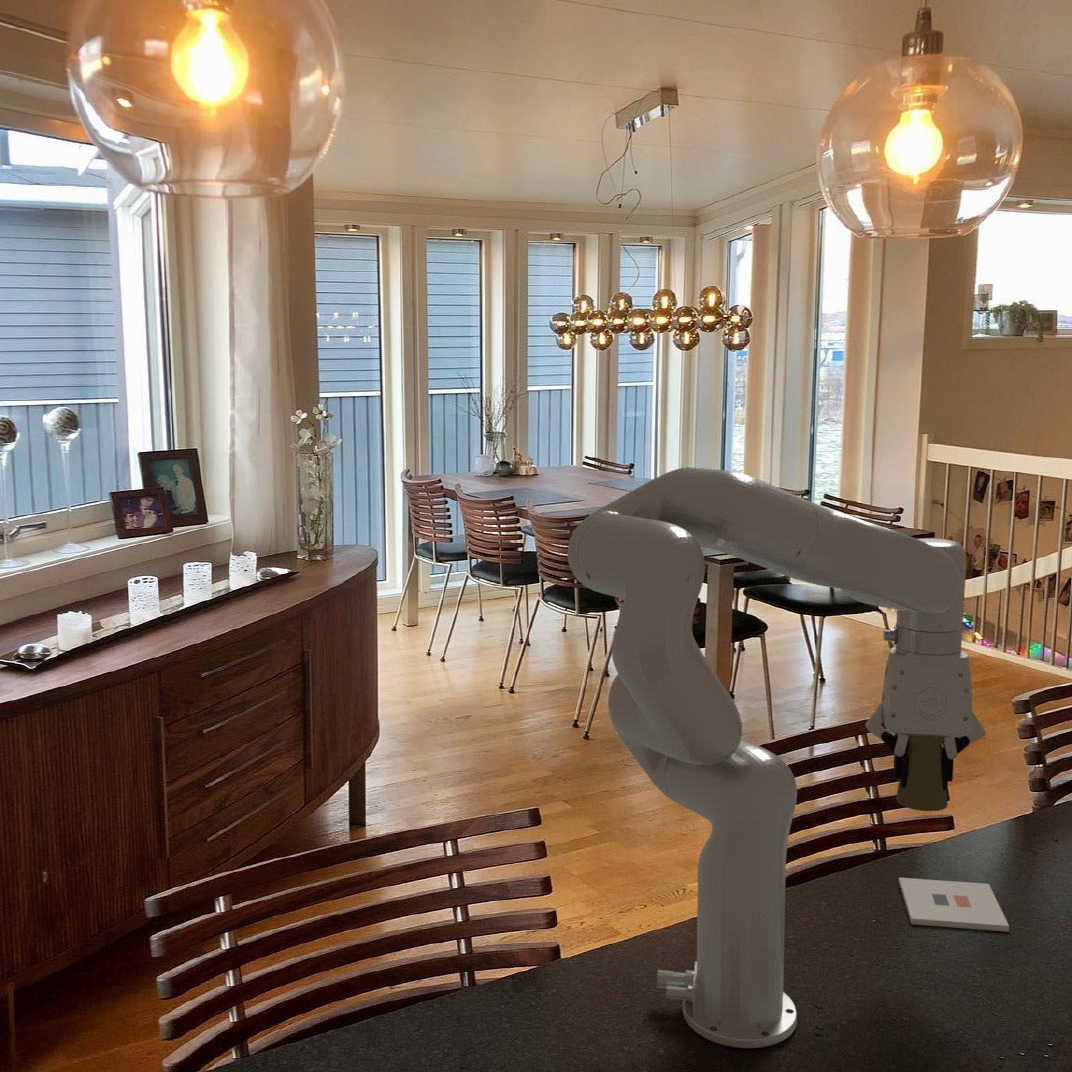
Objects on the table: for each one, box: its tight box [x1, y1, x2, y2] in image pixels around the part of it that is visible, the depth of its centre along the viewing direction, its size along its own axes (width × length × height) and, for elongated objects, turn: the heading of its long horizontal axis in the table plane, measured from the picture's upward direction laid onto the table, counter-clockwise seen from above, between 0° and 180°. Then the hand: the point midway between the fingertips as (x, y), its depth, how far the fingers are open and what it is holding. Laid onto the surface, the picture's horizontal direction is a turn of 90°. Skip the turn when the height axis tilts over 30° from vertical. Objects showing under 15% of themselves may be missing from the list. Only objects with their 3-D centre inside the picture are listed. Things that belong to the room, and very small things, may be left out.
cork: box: [895, 735, 949, 812], centre depth 133 cm, size 6×6×11 cm
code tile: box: [898, 877, 1010, 933], centre depth 146 cm, size 12×12×1 cm
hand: (922, 783), depth 134 cm, fingers closed on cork, 4 cm apart
